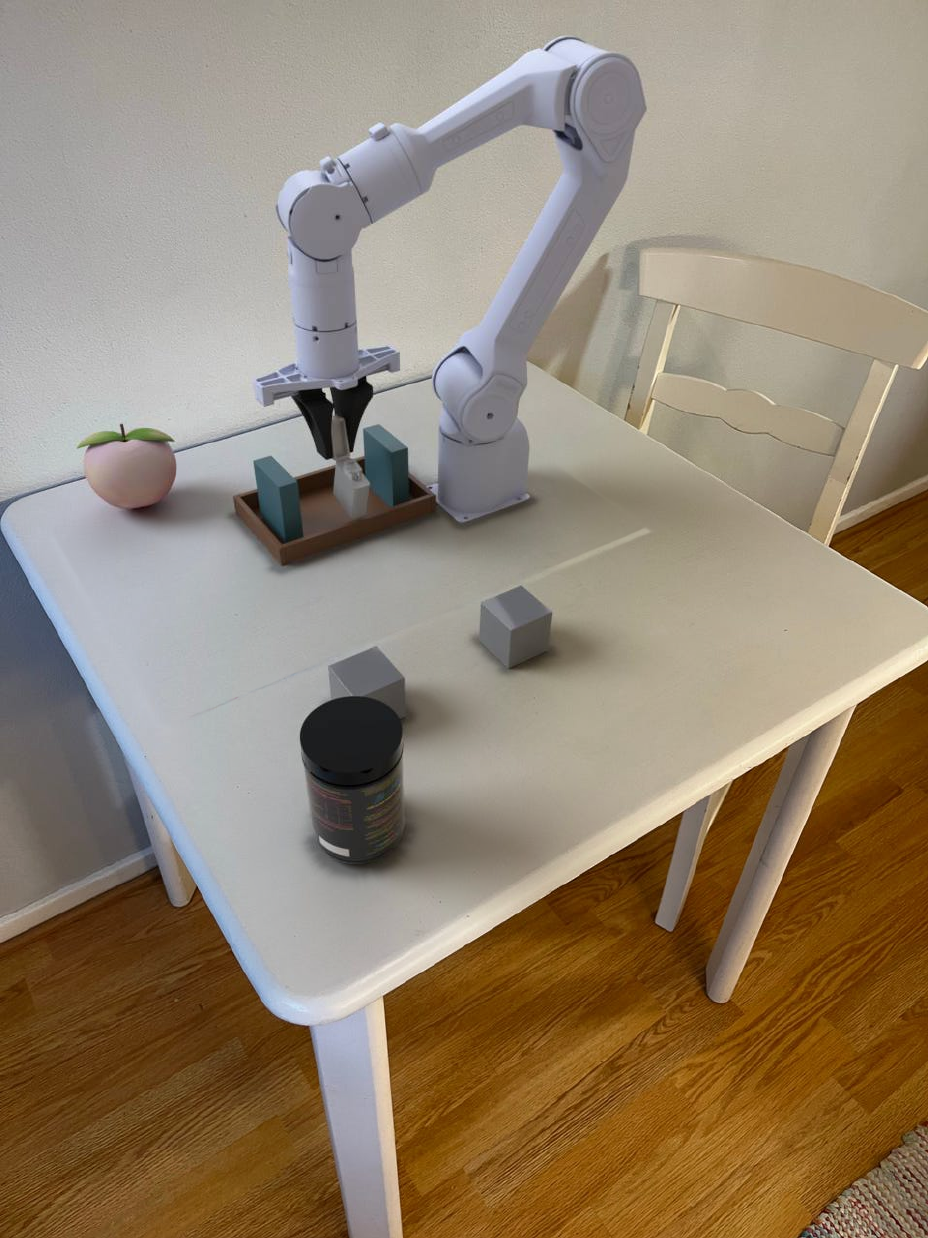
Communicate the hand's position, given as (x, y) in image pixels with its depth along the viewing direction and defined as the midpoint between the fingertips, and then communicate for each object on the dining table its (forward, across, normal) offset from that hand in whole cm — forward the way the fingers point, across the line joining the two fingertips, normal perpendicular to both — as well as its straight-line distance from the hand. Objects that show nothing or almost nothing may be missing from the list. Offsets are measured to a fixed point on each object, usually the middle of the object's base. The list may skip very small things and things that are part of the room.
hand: (335, 451), depth 90 cm
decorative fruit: (+8, -17, +13) cm, 23 cm away
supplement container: (+8, -18, -36) cm, 41 cm away
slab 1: (+8, -6, +1) cm, 10 cm away
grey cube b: (+8, -12, -26) cm, 29 cm away
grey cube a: (+8, +4, -26) cm, 27 cm away
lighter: (+5, 0, -1) cm, 5 cm away
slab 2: (+8, +6, +1) cm, 10 cm away
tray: (+8, 0, +1) cm, 8 cm away
